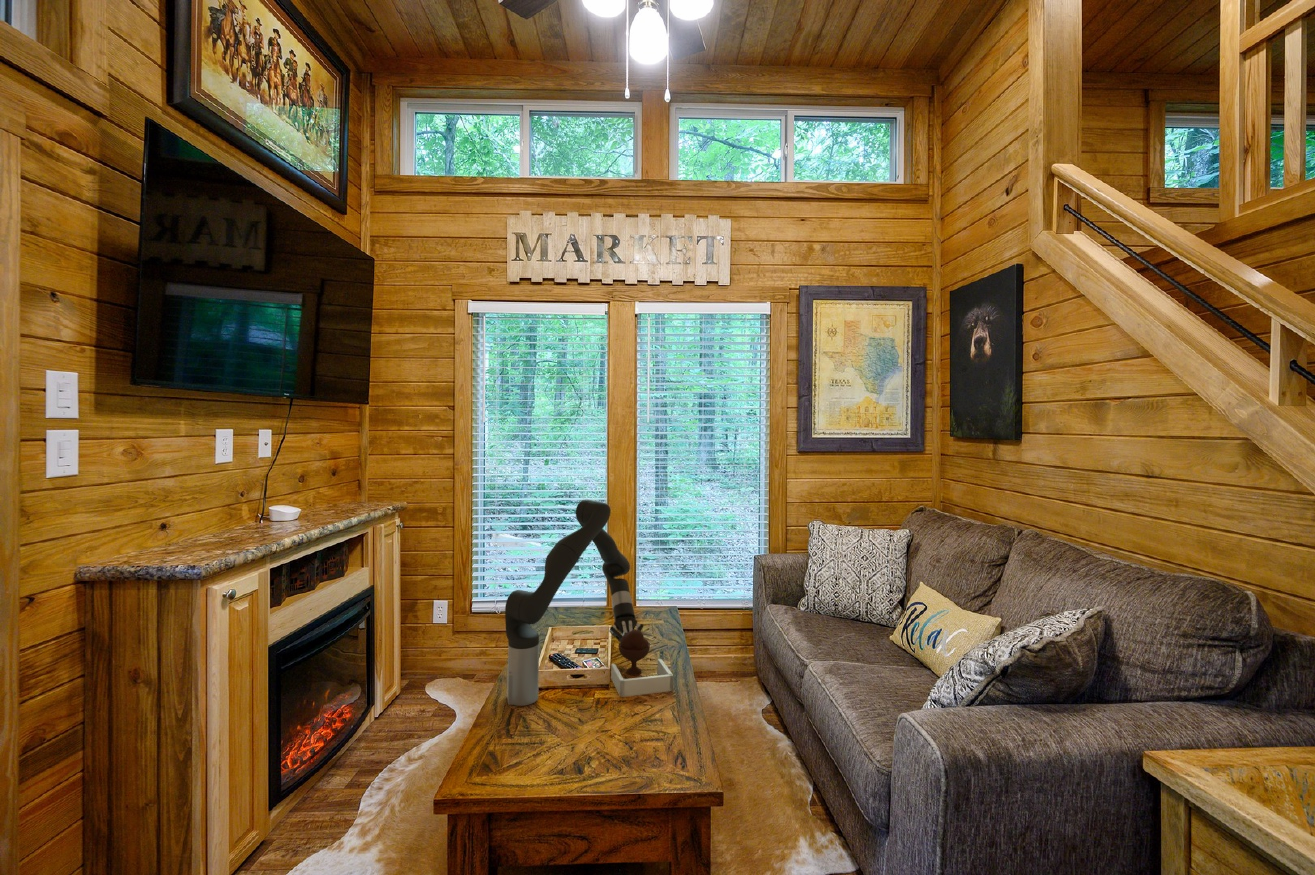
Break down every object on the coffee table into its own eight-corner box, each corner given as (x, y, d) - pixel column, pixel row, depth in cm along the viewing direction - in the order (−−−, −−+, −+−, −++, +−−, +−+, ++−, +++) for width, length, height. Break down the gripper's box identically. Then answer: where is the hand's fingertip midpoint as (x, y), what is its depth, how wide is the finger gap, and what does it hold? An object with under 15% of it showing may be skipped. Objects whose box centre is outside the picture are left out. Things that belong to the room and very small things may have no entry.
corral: (620, 697, 183) (620, 681, 183) (611, 678, 196) (611, 664, 196) (673, 691, 188) (673, 675, 188) (660, 673, 201) (661, 658, 201)
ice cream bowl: (655, 670, 203) (656, 627, 203) (636, 682, 194) (637, 637, 194) (631, 662, 209) (632, 621, 209) (611, 673, 200) (612, 630, 200)
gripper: (606, 603, 213) (614, 649, 202) (641, 600, 217) (650, 645, 206) (603, 612, 218) (610, 658, 207) (637, 609, 222) (646, 654, 211)
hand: (630, 651), depth 206 cm, fingers closed
